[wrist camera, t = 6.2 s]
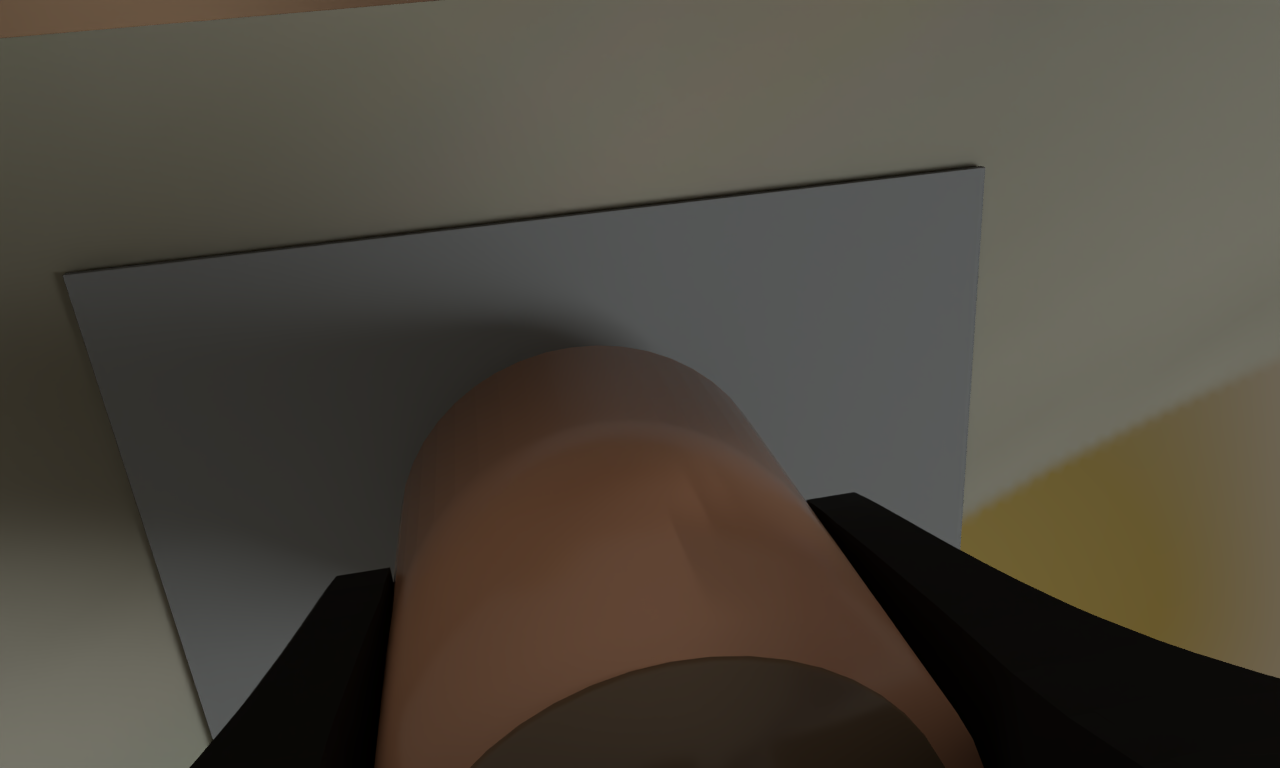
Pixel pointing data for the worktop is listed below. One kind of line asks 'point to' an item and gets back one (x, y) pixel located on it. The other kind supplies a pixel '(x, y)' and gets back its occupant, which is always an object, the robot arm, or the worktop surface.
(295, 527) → the rubber mat
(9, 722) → the worktop surface
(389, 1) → the wooden square frame
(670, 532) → the seedling pot
